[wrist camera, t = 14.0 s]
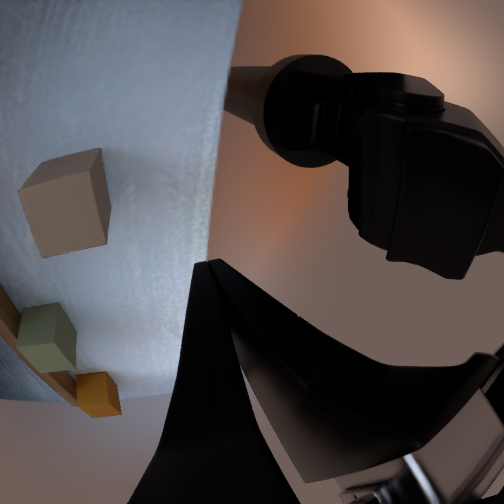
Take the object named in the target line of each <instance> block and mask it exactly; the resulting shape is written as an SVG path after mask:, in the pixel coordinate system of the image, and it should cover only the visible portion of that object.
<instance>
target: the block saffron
mask: <svg viewBox="0 0 504 504" xmlns="http://www.w3.org/2000/svg"><path fill="white" fill-rule="evenodd" d="M76 386H77V403H78V407H79V408H81V409H82V410H83V411H84V412H86V413H87V414H88V415H90V416H91V417H92V418H96V417H106V416H115V415H121V414H122V413H121V407H120V401H119V394H118V387H117V385H116V384H115V383H114V381H113V380H112V379H111V378H110V377H109V375H108V374H107V373H106V372H100V373H92V374H84V375H76Z"/></svg>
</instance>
